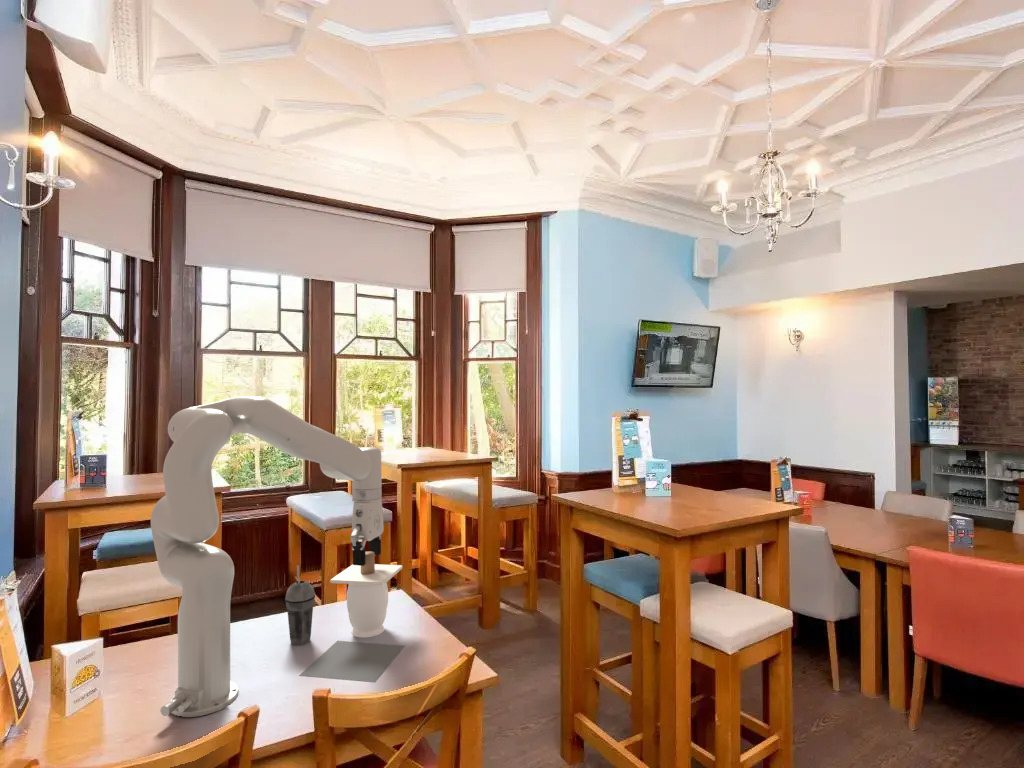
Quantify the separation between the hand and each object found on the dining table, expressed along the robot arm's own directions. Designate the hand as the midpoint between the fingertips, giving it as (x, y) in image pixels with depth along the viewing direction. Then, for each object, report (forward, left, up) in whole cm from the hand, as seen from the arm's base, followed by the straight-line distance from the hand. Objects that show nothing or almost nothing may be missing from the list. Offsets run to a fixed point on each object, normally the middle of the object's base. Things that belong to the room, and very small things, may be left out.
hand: (367, 559), depth 152 cm
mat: (-16, -4, -19) cm, 25 cm away
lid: (0, 0, -4) cm, 4 cm away
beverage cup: (-9, +14, -19) cm, 25 cm away
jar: (0, 0, -19) cm, 19 cm away
